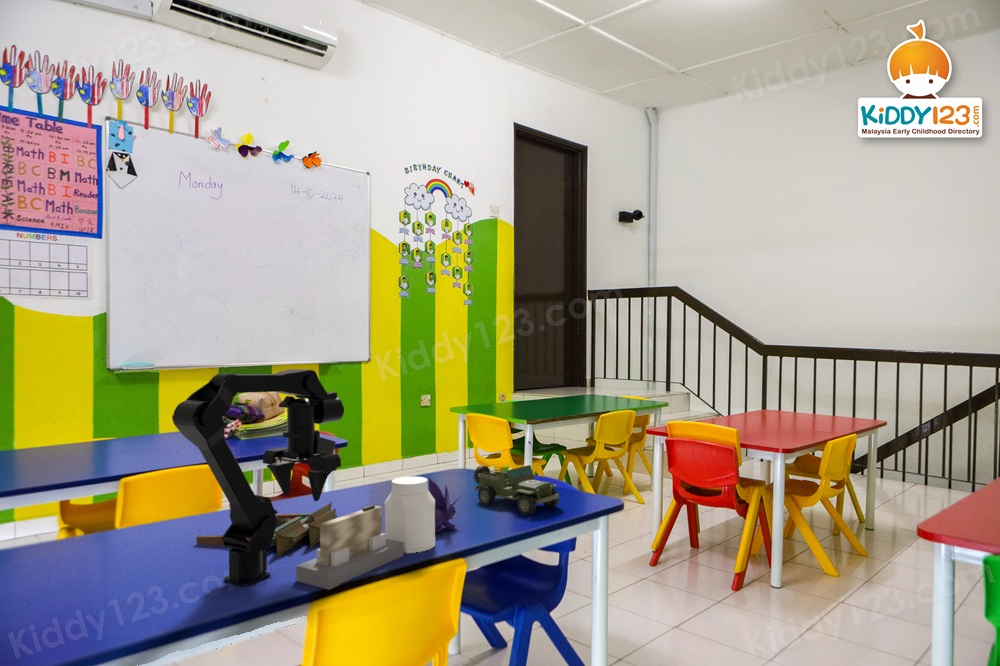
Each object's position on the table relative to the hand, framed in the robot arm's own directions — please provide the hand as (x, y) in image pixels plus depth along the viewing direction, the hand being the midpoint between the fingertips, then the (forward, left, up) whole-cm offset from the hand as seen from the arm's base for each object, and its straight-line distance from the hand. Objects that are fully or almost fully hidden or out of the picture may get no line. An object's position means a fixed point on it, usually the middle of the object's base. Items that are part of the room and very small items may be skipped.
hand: (301, 498), depth 144 cm
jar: (+18, -15, -13) cm, 27 cm away
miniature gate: (+8, +18, -14) cm, 24 cm away
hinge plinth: (+1, -14, -13) cm, 19 cm away
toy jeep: (+61, -18, -14) cm, 66 cm away
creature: (+31, -13, -13) cm, 36 cm away
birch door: (+1, -14, -10) cm, 17 cm away
